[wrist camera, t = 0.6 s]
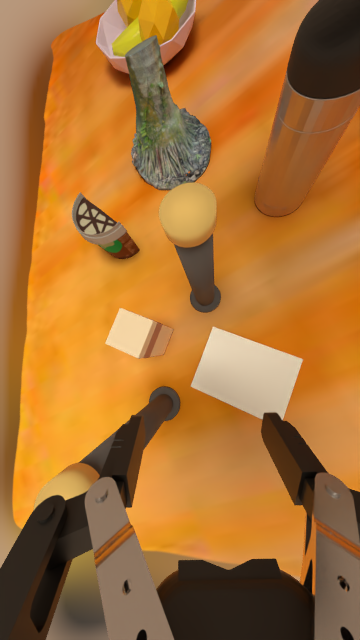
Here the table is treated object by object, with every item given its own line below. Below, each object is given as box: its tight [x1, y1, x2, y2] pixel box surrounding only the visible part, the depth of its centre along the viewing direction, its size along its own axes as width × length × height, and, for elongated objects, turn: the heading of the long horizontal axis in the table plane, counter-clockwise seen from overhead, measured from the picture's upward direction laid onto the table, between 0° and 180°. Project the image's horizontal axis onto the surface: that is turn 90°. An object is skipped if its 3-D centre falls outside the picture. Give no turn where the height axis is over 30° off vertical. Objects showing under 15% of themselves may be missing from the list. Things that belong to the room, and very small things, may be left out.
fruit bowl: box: [96, 0, 196, 74], centre depth 43 cm, size 28×27×11 cm
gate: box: [33, 182, 221, 511], centre depth 23 cm, size 28×6×24 cm, turn 158°
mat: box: [191, 327, 303, 420], centre depth 32 cm, size 12×16×1 cm
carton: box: [105, 308, 174, 358], centre depth 31 cm, size 6×6×12 cm
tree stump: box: [125, 35, 211, 190], centre depth 37 cm, size 18×20×18 cm
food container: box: [72, 193, 139, 259], centre depth 37 cm, size 12×6×10 cm, turn 48°
